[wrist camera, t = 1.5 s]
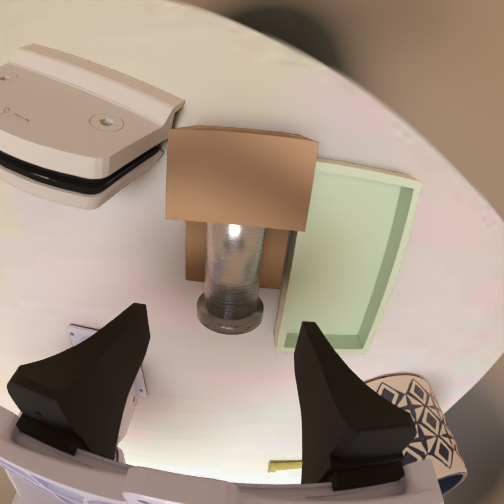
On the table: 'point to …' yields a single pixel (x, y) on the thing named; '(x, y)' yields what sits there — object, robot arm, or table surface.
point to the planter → (425, 428)
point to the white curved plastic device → (77, 127)
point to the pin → (232, 279)
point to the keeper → (239, 188)
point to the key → (284, 466)
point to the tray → (346, 255)
